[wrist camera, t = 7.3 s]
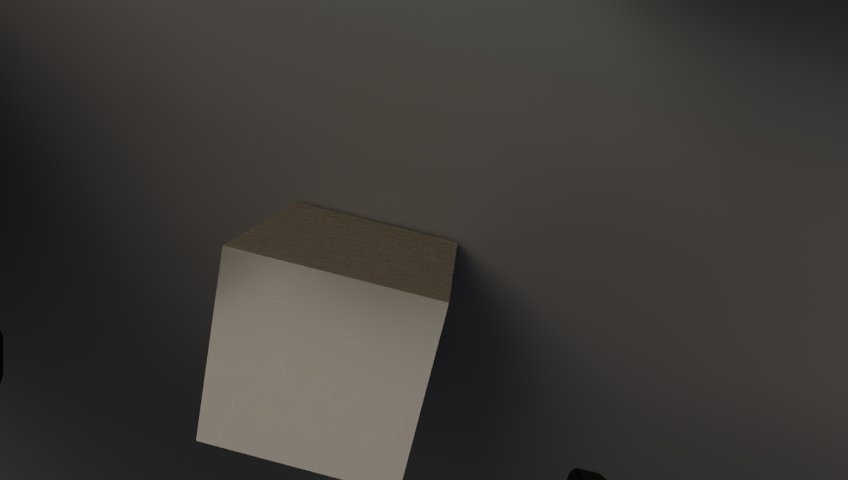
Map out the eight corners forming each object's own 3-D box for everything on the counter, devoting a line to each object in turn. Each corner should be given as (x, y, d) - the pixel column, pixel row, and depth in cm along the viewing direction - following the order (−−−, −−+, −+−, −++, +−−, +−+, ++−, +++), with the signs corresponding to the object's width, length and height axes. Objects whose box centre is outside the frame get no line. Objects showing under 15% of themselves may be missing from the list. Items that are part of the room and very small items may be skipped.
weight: (419, 386, 14) (398, 494, 10) (271, 348, 14) (195, 440, 10) (457, 242, 13) (448, 303, 9) (297, 201, 13) (222, 245, 9)
